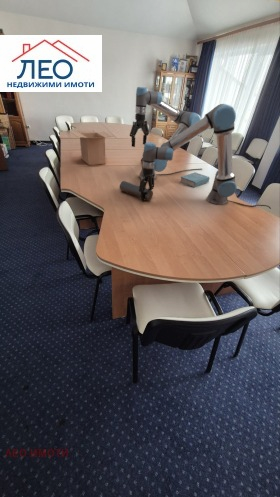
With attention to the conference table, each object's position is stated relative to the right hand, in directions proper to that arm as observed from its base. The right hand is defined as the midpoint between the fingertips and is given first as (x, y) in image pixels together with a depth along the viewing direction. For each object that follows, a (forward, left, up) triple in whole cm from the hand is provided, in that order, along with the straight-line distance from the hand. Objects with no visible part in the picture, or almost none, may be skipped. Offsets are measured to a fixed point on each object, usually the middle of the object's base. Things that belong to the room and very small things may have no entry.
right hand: (146, 198), depth 165 cm
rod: (+7, -7, -1) cm, 10 cm away
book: (-50, -39, -1) cm, 63 cm away
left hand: (+4, -31, +30) cm, 43 cm away
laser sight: (-17, -91, -1) cm, 93 cm away
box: (+45, -97, -1) cm, 107 cm away
